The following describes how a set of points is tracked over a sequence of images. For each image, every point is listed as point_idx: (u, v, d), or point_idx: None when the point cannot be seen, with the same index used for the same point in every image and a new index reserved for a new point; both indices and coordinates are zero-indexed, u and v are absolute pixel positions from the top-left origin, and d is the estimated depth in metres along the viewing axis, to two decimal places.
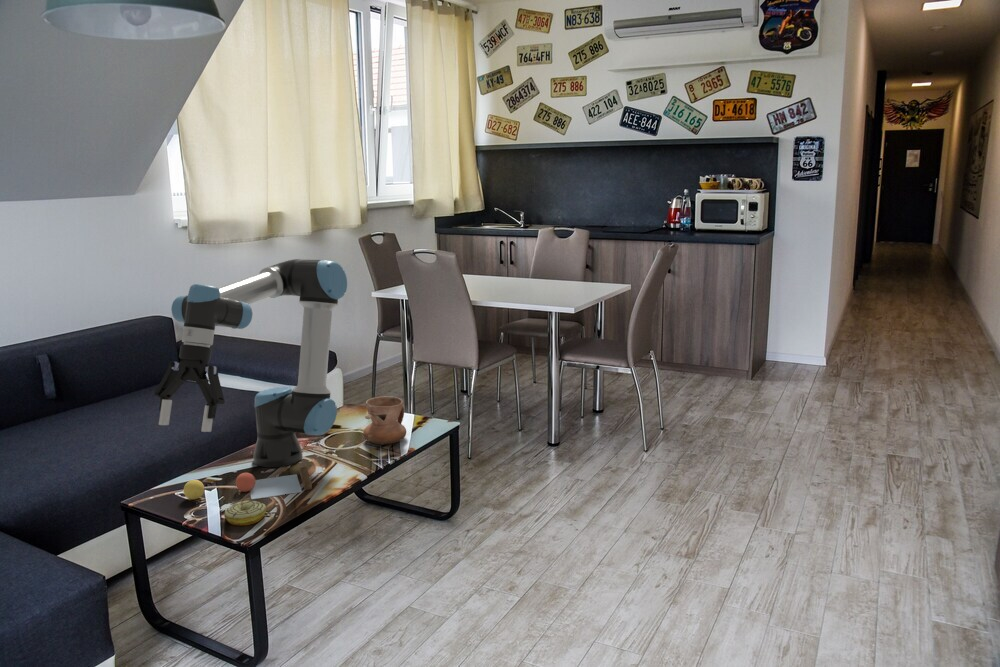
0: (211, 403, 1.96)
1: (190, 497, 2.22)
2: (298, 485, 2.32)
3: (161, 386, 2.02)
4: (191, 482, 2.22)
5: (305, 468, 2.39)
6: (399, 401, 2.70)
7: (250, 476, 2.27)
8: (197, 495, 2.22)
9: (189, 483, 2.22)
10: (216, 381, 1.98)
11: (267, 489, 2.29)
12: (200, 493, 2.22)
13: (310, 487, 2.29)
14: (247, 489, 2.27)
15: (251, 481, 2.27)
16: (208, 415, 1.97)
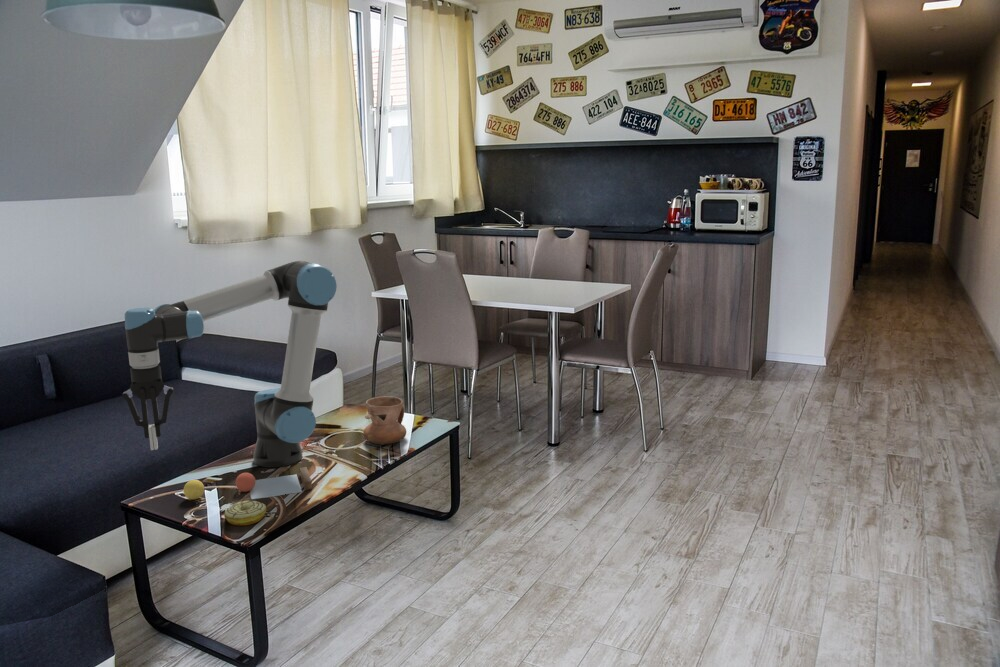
0: (158, 425, 2.16)
1: (190, 497, 2.22)
2: (298, 485, 2.32)
3: (136, 416, 2.13)
4: (191, 482, 2.22)
5: (305, 468, 2.39)
6: (399, 401, 2.70)
7: (250, 476, 2.27)
8: (197, 495, 2.22)
9: (189, 483, 2.22)
10: None
11: (267, 489, 2.29)
12: (200, 493, 2.22)
13: (310, 487, 2.29)
14: (247, 489, 2.27)
15: (251, 481, 2.27)
16: (157, 434, 2.17)
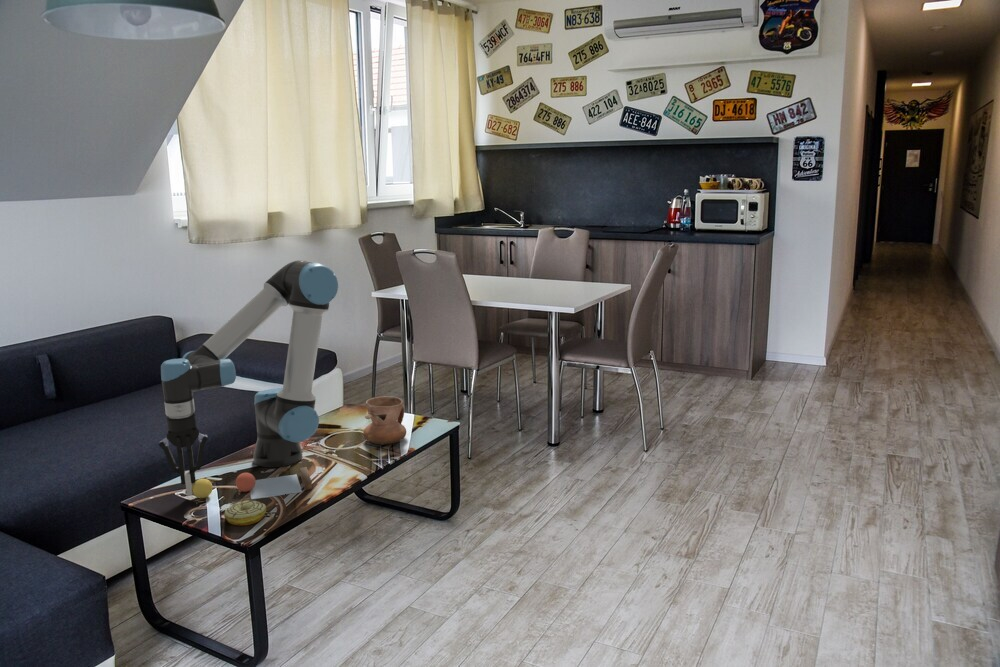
0: None
1: (196, 494, 2.22)
2: (298, 485, 2.32)
3: (173, 463, 2.19)
4: (204, 481, 2.23)
5: (305, 468, 2.39)
6: (399, 401, 2.70)
7: (250, 476, 2.27)
8: (204, 495, 2.22)
9: (202, 481, 2.23)
10: None
11: (267, 489, 2.29)
12: (207, 494, 2.23)
13: (310, 487, 2.29)
14: (247, 489, 2.27)
15: (251, 481, 2.27)
16: (191, 480, 2.22)
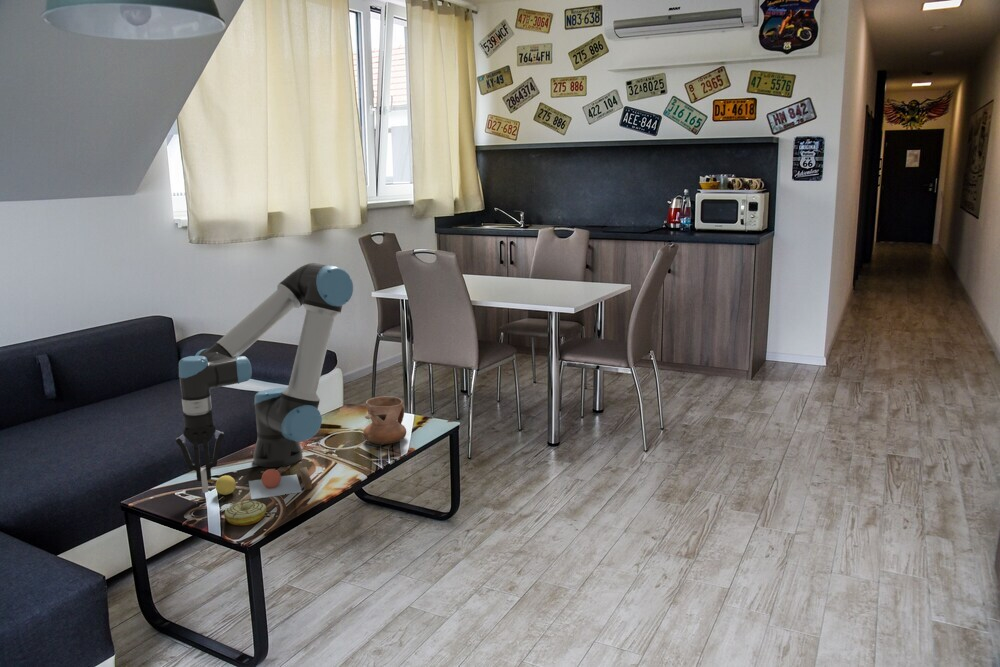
0: None
1: (226, 481, 2.24)
2: (298, 485, 2.32)
3: (189, 460, 2.20)
4: (231, 492, 2.26)
5: (305, 468, 2.39)
6: (399, 401, 2.70)
7: (271, 487, 2.30)
8: (221, 487, 2.24)
9: (233, 490, 2.26)
10: None
11: (267, 489, 2.29)
12: (219, 489, 2.24)
13: (310, 487, 2.29)
14: (268, 478, 2.28)
15: (269, 486, 2.29)
16: (207, 477, 2.24)
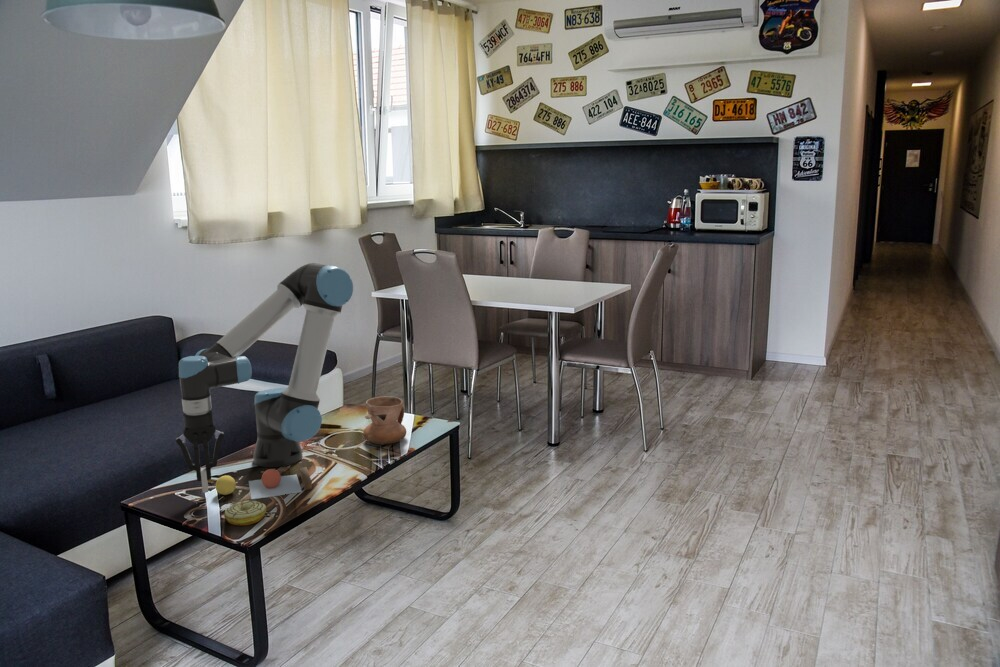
0: None
1: (226, 481, 2.24)
2: (298, 485, 2.32)
3: (189, 460, 2.20)
4: (231, 492, 2.26)
5: (305, 468, 2.39)
6: (399, 401, 2.70)
7: (271, 487, 2.30)
8: (221, 487, 2.24)
9: (233, 490, 2.26)
10: None
11: (267, 489, 2.29)
12: (219, 489, 2.24)
13: (310, 487, 2.29)
14: (268, 478, 2.28)
15: (269, 486, 2.29)
16: (207, 477, 2.24)
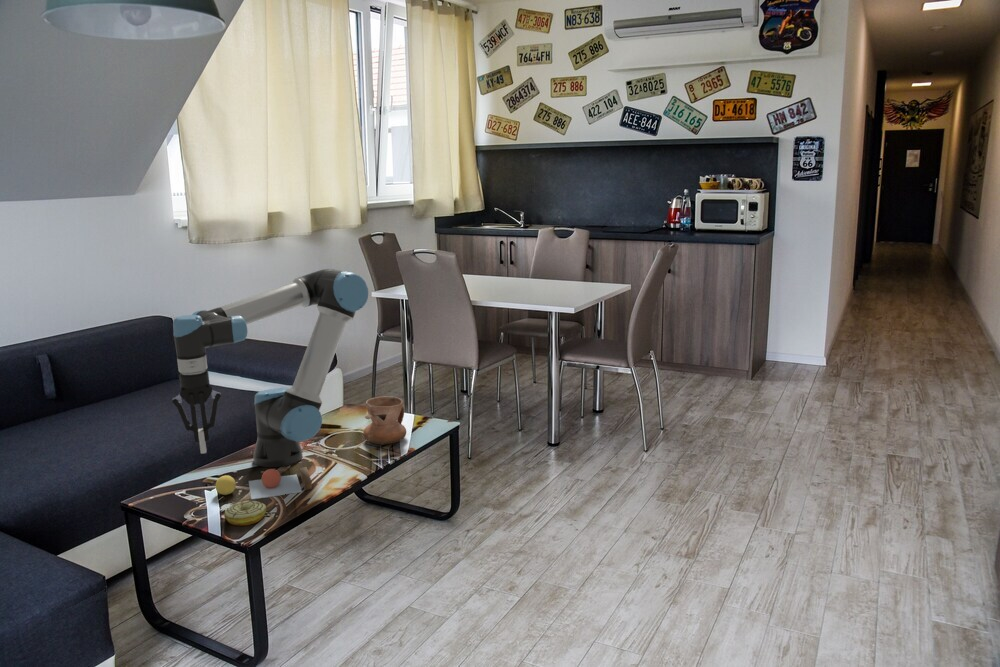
0: None
1: (226, 481, 2.24)
2: (298, 485, 2.32)
3: (186, 420, 2.18)
4: (231, 492, 2.26)
5: (305, 468, 2.39)
6: (399, 401, 2.70)
7: (271, 487, 2.30)
8: (221, 487, 2.24)
9: (233, 490, 2.26)
10: None
11: (267, 489, 2.29)
12: (219, 489, 2.24)
13: (310, 487, 2.29)
14: (268, 478, 2.28)
15: (269, 486, 2.29)
16: (205, 438, 2.21)
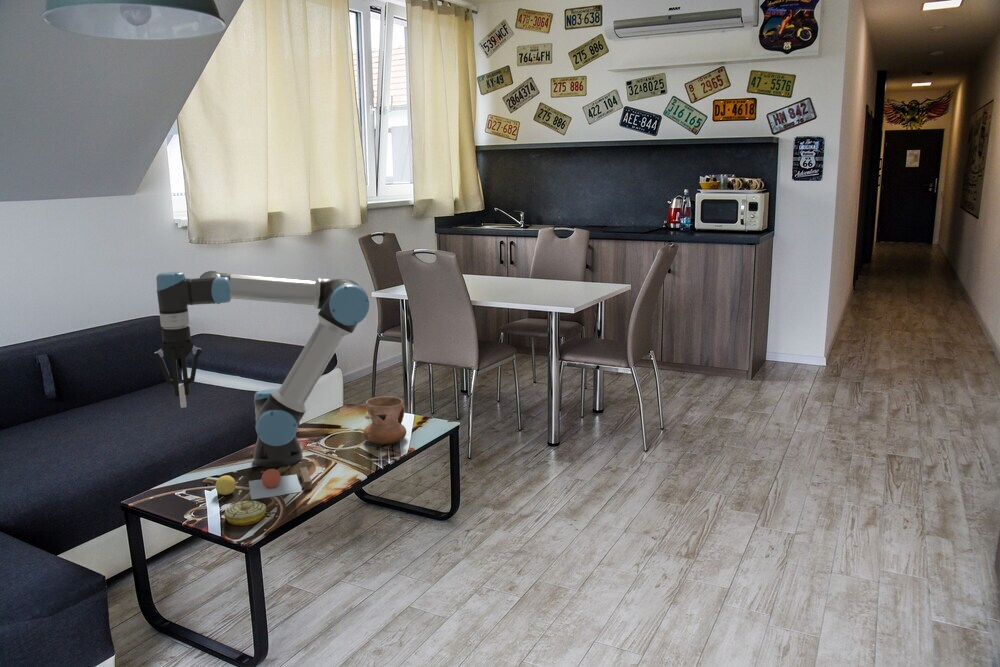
0: (187, 384, 2.27)
1: (226, 481, 2.24)
2: (298, 485, 2.32)
3: (167, 374, 2.24)
4: (231, 492, 2.26)
5: (305, 468, 2.39)
6: (399, 401, 2.70)
7: (271, 487, 2.30)
8: (221, 487, 2.24)
9: (233, 490, 2.26)
10: None
11: (267, 489, 2.29)
12: (219, 489, 2.24)
13: (310, 487, 2.29)
14: (268, 478, 2.28)
15: (269, 486, 2.29)
16: (185, 392, 2.28)
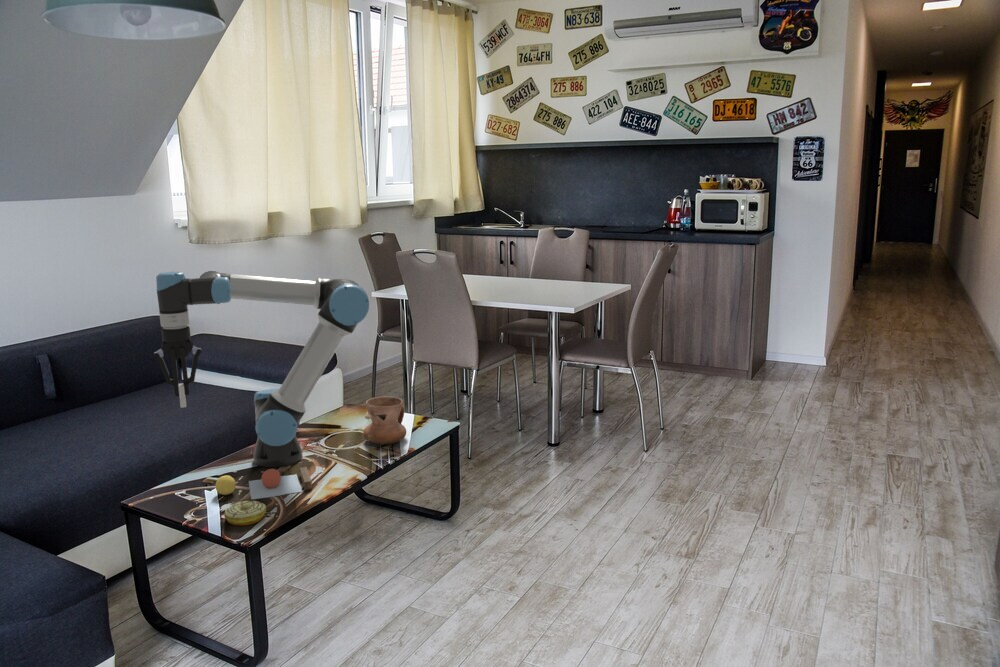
0: (187, 384, 2.27)
1: (226, 481, 2.24)
2: (298, 485, 2.32)
3: (167, 374, 2.24)
4: (231, 492, 2.26)
5: (305, 468, 2.39)
6: (399, 401, 2.70)
7: (271, 487, 2.30)
8: (221, 487, 2.24)
9: (233, 490, 2.26)
10: None
11: (267, 489, 2.29)
12: (219, 489, 2.24)
13: (310, 487, 2.29)
14: (268, 478, 2.28)
15: (269, 486, 2.29)
16: (185, 392, 2.28)
